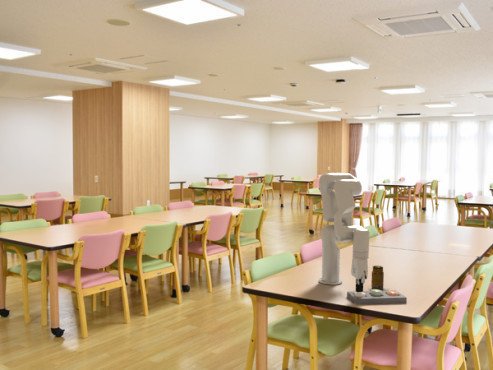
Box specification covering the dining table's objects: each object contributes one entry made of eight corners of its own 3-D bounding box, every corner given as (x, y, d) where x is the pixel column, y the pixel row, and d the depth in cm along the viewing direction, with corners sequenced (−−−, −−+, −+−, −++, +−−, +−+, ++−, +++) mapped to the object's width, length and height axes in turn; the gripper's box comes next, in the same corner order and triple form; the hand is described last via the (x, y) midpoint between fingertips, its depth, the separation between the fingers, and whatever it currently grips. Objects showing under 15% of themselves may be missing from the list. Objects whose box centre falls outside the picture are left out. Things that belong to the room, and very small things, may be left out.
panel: (346, 296, 226) (347, 291, 226) (395, 295, 229) (395, 290, 229) (355, 304, 214) (355, 298, 214) (406, 302, 217) (406, 297, 217)
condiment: (374, 286, 245) (375, 264, 244) (389, 289, 239) (390, 266, 238) (367, 289, 240) (368, 266, 239) (383, 292, 234) (383, 269, 233)
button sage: (369, 294, 224) (369, 289, 223) (379, 293, 224) (379, 289, 224) (373, 297, 219) (373, 292, 218) (383, 296, 219) (383, 292, 219)
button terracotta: (385, 295, 225) (385, 291, 224) (395, 295, 225) (395, 290, 225) (389, 298, 220) (389, 294, 220) (399, 298, 220) (399, 293, 220)
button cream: (352, 296, 223) (353, 292, 223) (362, 296, 223) (362, 291, 223) (356, 299, 218) (356, 295, 218) (366, 299, 218) (366, 294, 218)
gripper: (347, 251, 226) (346, 287, 228) (358, 258, 212) (357, 297, 213) (362, 250, 227) (361, 287, 229) (374, 257, 213) (372, 296, 214)
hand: (359, 291), depth 221 cm, fingers closed
